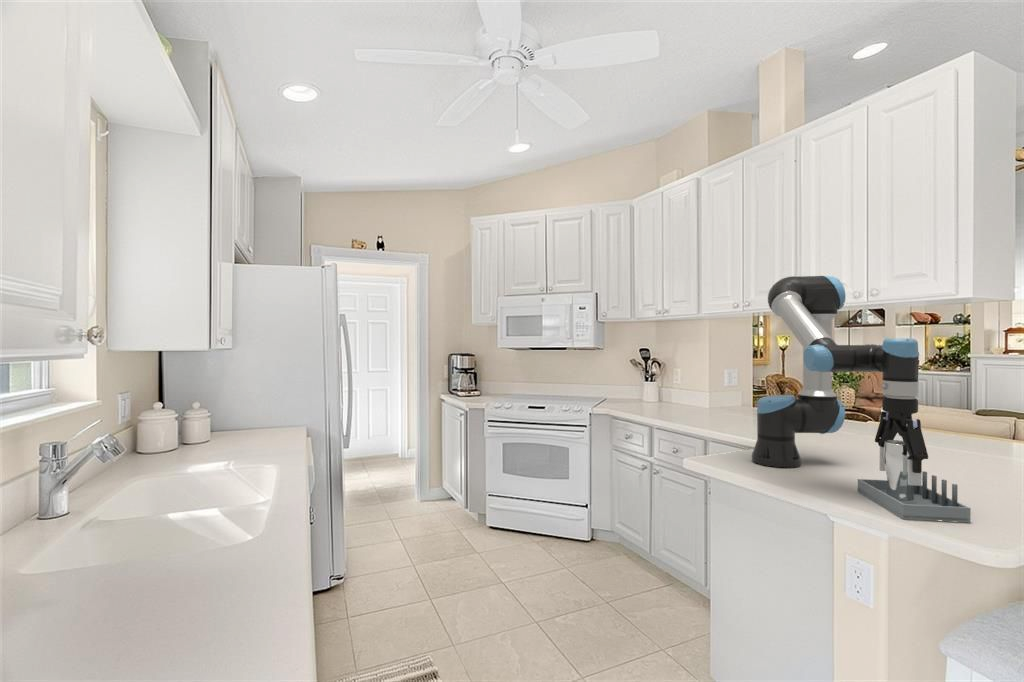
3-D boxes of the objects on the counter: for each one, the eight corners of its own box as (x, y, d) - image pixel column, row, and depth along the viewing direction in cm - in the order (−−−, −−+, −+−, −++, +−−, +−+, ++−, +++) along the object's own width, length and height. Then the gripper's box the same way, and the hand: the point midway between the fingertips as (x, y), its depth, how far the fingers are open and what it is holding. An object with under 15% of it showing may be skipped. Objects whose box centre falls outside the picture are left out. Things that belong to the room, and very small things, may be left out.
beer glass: (922, 504, 131) (922, 445, 131) (891, 502, 133) (891, 444, 133) (907, 496, 138) (907, 440, 138) (878, 494, 139) (878, 439, 139)
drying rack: (857, 491, 146) (857, 463, 146) (913, 493, 143) (913, 465, 143) (903, 519, 123) (903, 486, 123) (970, 523, 121) (970, 488, 121)
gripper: (861, 391, 148) (860, 464, 149) (911, 403, 124) (910, 491, 124) (890, 391, 147) (889, 466, 147) (946, 403, 122) (946, 492, 123)
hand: (899, 477), depth 136 cm, fingers open, 13 cm apart
